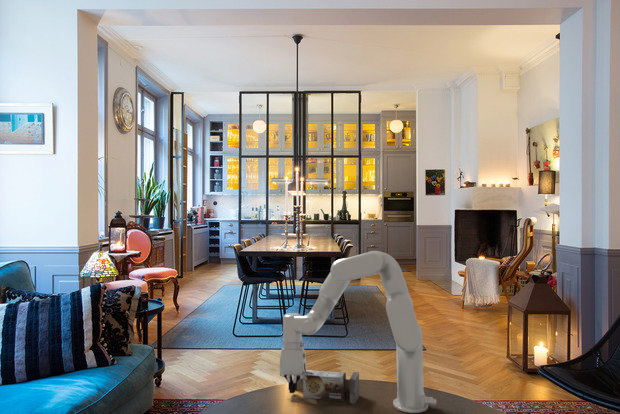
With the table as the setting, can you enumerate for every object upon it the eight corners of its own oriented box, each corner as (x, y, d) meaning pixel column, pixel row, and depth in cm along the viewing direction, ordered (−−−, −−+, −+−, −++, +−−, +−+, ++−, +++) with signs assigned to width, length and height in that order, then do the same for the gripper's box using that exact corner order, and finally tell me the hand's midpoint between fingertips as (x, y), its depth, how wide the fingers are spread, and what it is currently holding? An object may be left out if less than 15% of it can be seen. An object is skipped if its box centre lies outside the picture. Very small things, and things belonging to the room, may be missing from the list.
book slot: (359, 395, 165) (358, 372, 165) (353, 408, 153) (352, 383, 153) (294, 388, 172) (294, 366, 173) (283, 400, 160) (283, 376, 161)
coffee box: (306, 392, 168) (346, 395, 165) (302, 398, 162) (344, 402, 159) (306, 369, 169) (346, 372, 166) (303, 374, 163) (344, 377, 159)
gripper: (313, 344, 168) (313, 390, 167) (278, 341, 173) (278, 387, 171) (307, 348, 161) (307, 397, 160) (271, 346, 166) (271, 393, 164)
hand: (292, 392), depth 166 cm, fingers closed
